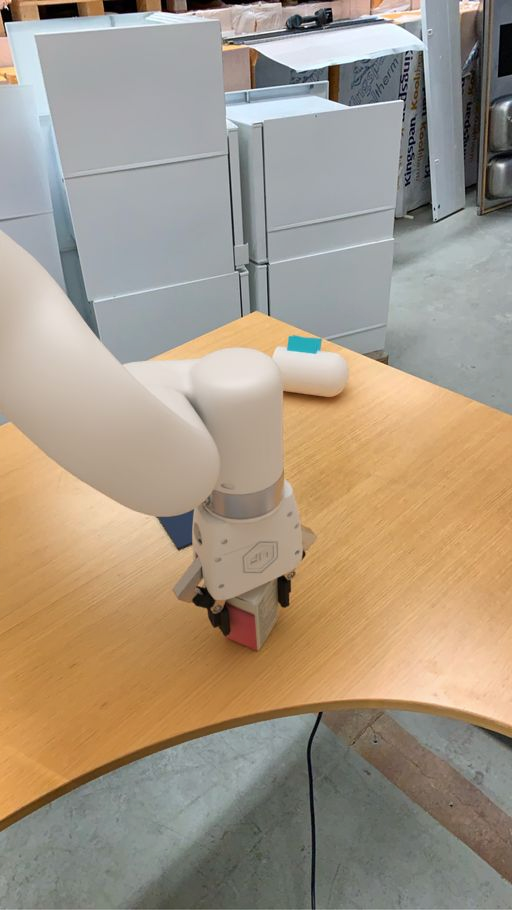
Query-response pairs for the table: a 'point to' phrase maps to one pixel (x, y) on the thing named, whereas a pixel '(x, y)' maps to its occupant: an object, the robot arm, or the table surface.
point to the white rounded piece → (310, 367)
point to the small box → (253, 615)
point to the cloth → (179, 528)
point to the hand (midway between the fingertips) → (250, 610)
